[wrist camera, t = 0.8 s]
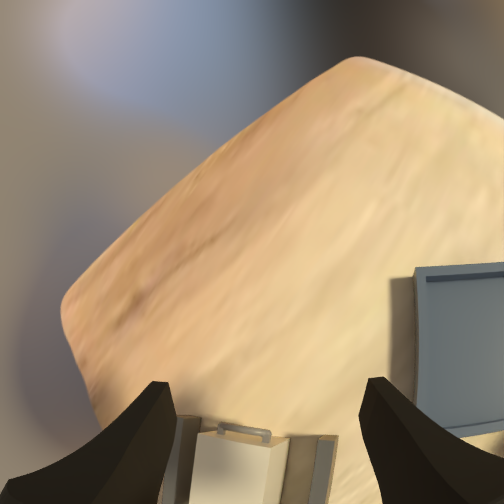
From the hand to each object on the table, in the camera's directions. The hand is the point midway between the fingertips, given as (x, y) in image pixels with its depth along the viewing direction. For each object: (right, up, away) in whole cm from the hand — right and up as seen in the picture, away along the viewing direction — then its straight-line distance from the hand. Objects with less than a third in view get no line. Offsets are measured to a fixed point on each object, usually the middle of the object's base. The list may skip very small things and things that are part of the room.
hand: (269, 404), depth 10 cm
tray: (+17, -2, +9) cm, 20 cm away
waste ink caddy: (-1, -13, +11) cm, 18 cm away
